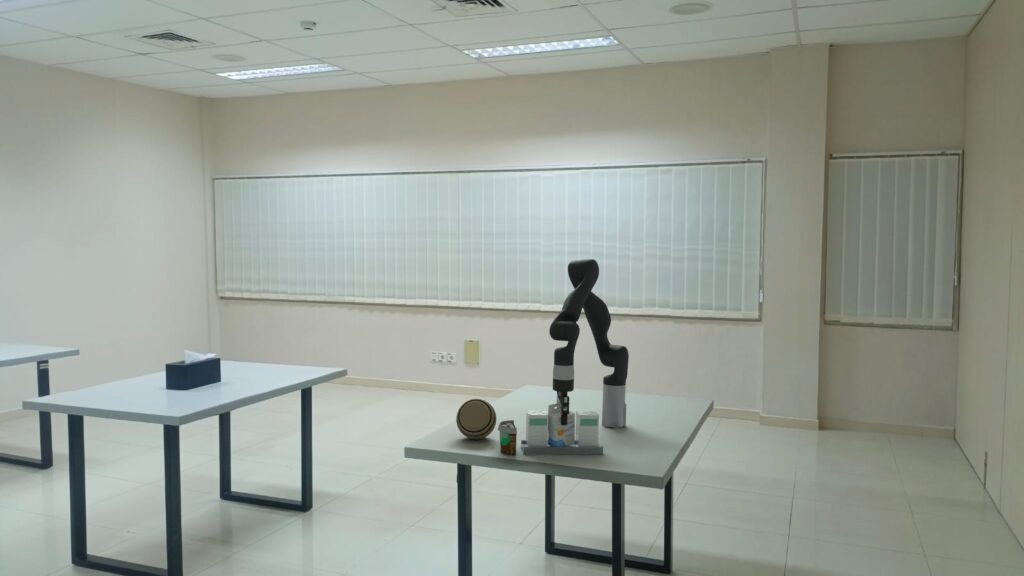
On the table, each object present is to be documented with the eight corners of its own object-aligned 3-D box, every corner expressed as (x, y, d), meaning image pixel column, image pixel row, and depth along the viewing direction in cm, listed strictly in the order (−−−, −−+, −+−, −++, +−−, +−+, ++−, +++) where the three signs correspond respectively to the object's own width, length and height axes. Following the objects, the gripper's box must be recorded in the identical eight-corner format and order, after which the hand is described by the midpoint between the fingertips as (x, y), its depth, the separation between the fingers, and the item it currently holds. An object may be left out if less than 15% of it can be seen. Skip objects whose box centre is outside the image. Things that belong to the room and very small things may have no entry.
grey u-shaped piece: (597, 446, 268) (598, 410, 268) (603, 454, 259) (604, 416, 258) (521, 446, 266) (521, 409, 266) (523, 454, 256) (524, 415, 256)
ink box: (555, 449, 258) (555, 408, 256) (547, 444, 262) (547, 405, 260) (575, 444, 262) (575, 404, 260) (567, 440, 267) (567, 400, 264)
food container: (496, 447, 265) (496, 419, 264) (513, 447, 265) (513, 419, 265) (498, 456, 252) (499, 427, 252) (516, 456, 253) (516, 428, 252)
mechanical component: (448, 437, 277) (449, 397, 277) (480, 432, 286) (481, 393, 286) (470, 446, 265) (471, 404, 265) (503, 440, 275) (504, 400, 274)
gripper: (577, 380, 254) (575, 427, 255) (570, 373, 269) (569, 418, 269) (555, 380, 254) (554, 427, 254) (550, 373, 268) (549, 417, 269)
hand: (562, 422), depth 262 cm, fingers open, 8 cm apart
